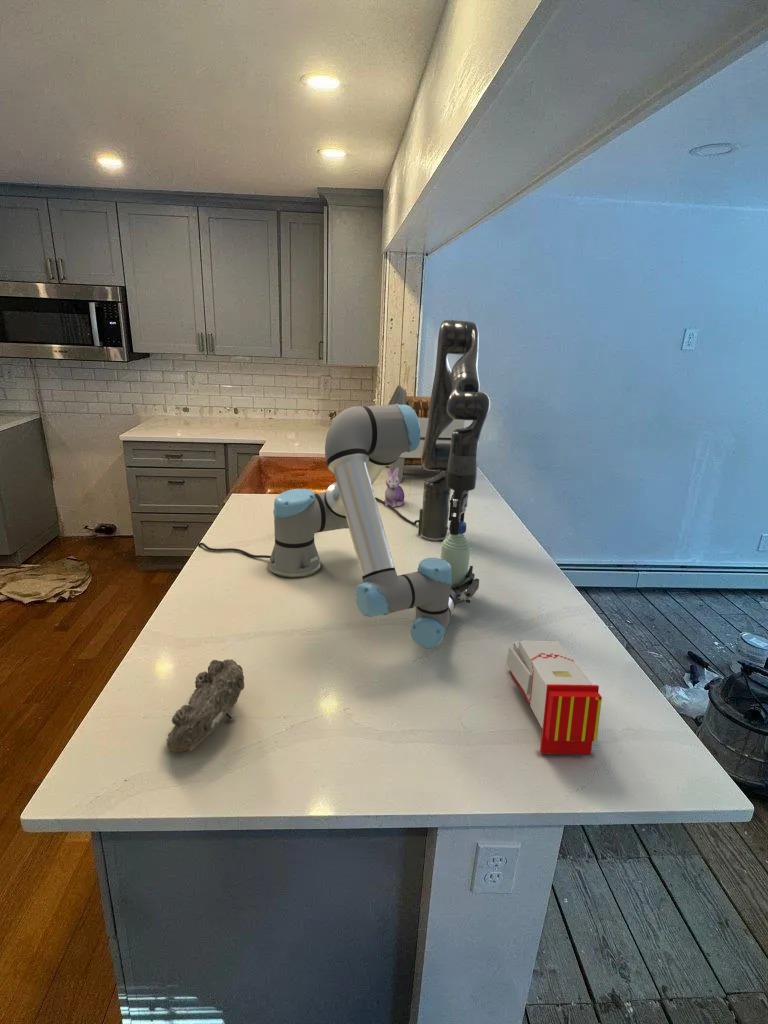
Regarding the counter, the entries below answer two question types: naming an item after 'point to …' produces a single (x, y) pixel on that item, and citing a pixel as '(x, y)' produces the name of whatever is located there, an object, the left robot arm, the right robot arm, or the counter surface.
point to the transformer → (422, 412)
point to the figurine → (393, 489)
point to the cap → (461, 527)
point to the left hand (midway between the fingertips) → (456, 567)
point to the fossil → (206, 705)
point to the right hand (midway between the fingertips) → (456, 529)
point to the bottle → (456, 556)
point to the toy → (557, 696)
